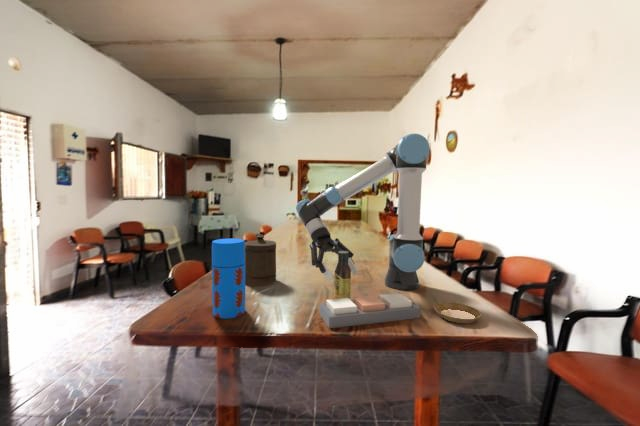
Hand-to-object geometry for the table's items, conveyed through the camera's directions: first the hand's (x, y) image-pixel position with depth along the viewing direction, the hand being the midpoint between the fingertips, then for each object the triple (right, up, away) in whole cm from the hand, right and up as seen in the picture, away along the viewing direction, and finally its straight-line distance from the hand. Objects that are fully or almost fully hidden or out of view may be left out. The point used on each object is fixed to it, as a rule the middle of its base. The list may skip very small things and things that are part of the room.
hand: (343, 276), depth 114 cm
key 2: (+17, -9, -7) cm, 21 cm away
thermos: (-40, -11, -8) cm, 43 cm away
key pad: (+8, -11, -10) cm, 17 cm away
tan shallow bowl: (+38, -12, -9) cm, 41 cm away
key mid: (+8, -9, -10) cm, 15 cm away
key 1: (-2, -9, -12) cm, 15 cm away
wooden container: (-37, -8, +28) cm, 47 cm away
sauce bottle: (0, -11, +2) cm, 11 cm away
